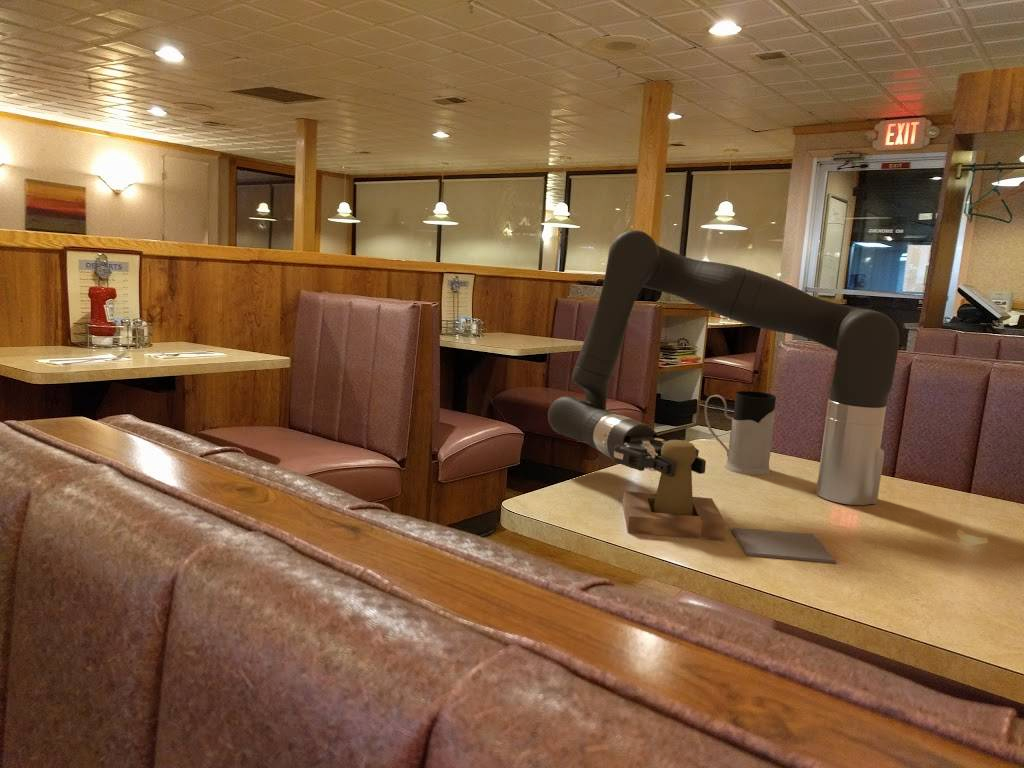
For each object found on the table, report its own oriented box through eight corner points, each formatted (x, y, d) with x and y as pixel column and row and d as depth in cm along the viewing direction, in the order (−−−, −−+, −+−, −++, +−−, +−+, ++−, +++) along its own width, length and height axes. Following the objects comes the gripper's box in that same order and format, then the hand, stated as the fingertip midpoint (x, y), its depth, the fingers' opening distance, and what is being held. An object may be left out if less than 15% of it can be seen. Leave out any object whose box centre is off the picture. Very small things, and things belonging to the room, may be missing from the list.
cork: (693, 520, 112) (701, 448, 110) (652, 515, 113) (658, 444, 111) (692, 507, 118) (699, 438, 116) (653, 502, 119) (659, 434, 117)
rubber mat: (812, 536, 113) (813, 534, 113) (835, 563, 103) (835, 560, 103) (731, 529, 114) (732, 527, 114) (746, 555, 104) (746, 552, 104)
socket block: (710, 513, 121) (711, 498, 121) (724, 540, 109) (726, 524, 109) (622, 505, 122) (623, 491, 122) (627, 532, 110) (629, 516, 110)
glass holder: (763, 478, 144) (773, 400, 141) (691, 463, 151) (699, 389, 149) (775, 468, 151) (784, 395, 148) (706, 455, 158) (713, 384, 156)
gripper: (589, 420, 123) (651, 447, 108) (661, 416, 129) (729, 441, 114) (586, 464, 124) (646, 497, 109) (657, 458, 131) (724, 488, 116)
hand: (688, 468), depth 112 cm, fingers closed on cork, 5 cm apart
